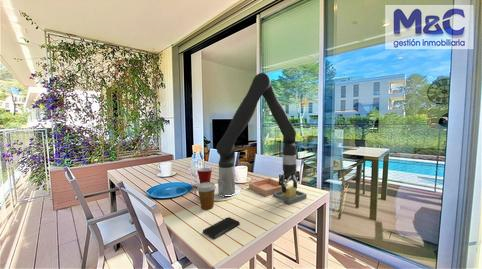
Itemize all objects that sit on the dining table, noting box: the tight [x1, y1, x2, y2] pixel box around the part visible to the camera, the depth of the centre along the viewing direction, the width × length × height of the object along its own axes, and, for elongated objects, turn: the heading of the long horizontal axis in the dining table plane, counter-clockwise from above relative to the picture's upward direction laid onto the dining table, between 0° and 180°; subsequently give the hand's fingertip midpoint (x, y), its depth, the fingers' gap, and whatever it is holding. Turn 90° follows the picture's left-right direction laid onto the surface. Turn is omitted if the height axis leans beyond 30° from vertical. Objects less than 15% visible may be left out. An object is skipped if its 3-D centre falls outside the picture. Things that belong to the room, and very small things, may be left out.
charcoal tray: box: [272, 189, 308, 205], centre depth 115 cm, size 14×12×2 cm
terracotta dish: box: [248, 177, 289, 197], centre depth 128 cm, size 17×17×4 cm
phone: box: [202, 216, 240, 240], centre depth 86 cm, size 8×1×15 cm
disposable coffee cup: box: [196, 181, 217, 211], centre depth 105 cm, size 10×10×12 cm
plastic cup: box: [196, 167, 213, 184], centre depth 138 cm, size 11×11×12 cm
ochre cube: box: [283, 185, 297, 199], centre depth 115 cm, size 5×5×5 cm
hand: (289, 190), depth 115 cm, fingers open, 8 cm apart
